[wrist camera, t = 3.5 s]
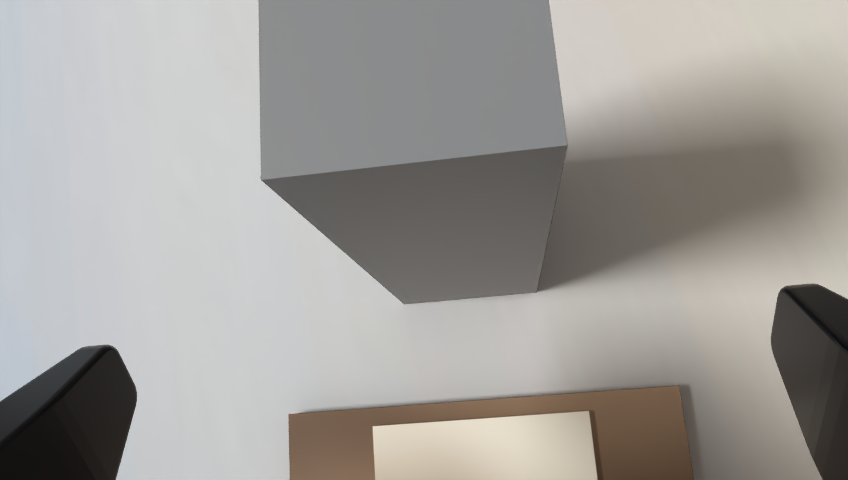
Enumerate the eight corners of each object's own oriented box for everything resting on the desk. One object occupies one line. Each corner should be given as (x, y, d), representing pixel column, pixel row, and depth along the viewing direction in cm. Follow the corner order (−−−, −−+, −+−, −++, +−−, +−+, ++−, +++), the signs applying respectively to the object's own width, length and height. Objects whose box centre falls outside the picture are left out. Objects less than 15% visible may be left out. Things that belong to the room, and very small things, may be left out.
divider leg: (536, 292, 20) (567, 145, 8) (403, 304, 20) (260, 180, 9) (522, 165, 21) (532, -122, 9) (396, 179, 21) (257, -79, 10)
